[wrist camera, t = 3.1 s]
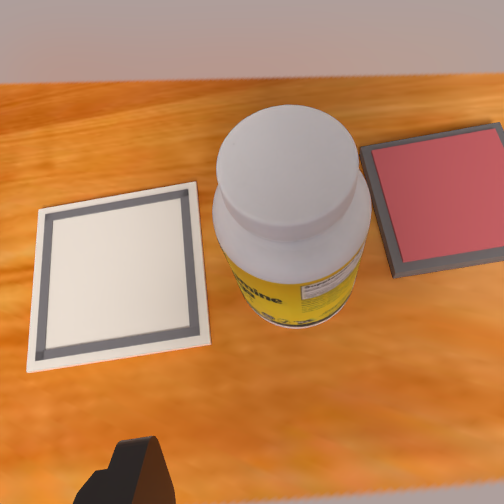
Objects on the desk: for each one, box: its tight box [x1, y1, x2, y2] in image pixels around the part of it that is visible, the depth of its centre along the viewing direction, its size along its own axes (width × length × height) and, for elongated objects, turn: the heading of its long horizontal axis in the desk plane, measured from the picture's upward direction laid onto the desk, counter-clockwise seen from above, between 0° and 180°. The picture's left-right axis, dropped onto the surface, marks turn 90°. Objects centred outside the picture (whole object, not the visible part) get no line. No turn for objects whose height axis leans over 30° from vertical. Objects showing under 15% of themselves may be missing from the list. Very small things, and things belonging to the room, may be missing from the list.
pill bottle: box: [212, 105, 372, 329], centre depth 20 cm, size 6×6×11 cm
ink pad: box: [359, 122, 504, 278], centre depth 25 cm, size 8×8×1 cm
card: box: [26, 181, 212, 373], centre depth 26 cm, size 10×10×1 cm
